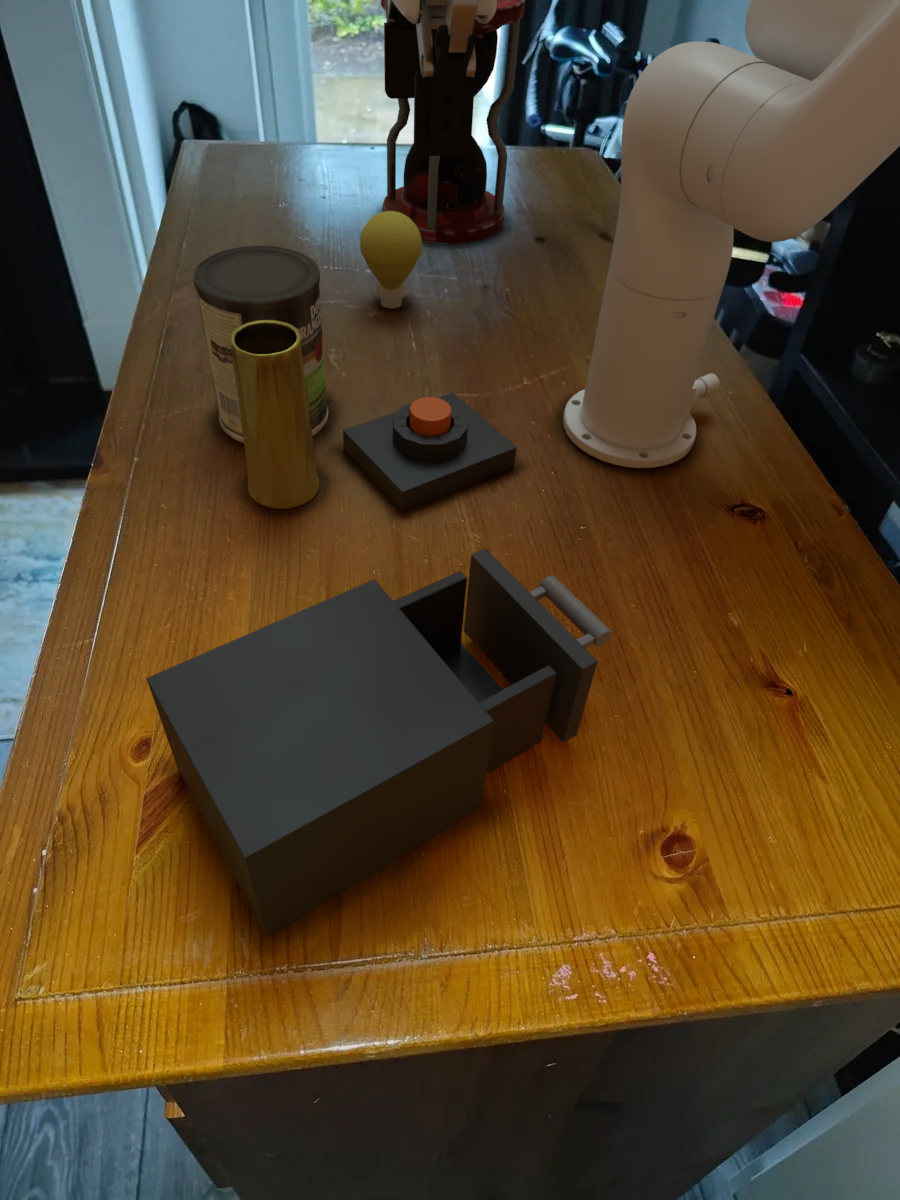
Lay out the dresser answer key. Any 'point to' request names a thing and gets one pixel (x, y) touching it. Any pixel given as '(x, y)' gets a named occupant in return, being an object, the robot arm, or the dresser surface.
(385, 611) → the dark grey box
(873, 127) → the robot arm
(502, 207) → the hourglass
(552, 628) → the drawer
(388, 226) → the light bulb
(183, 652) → the dresser surface
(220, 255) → the coffee can
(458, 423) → the control block
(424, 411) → the button
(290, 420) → the vase
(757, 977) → the dresser surface
